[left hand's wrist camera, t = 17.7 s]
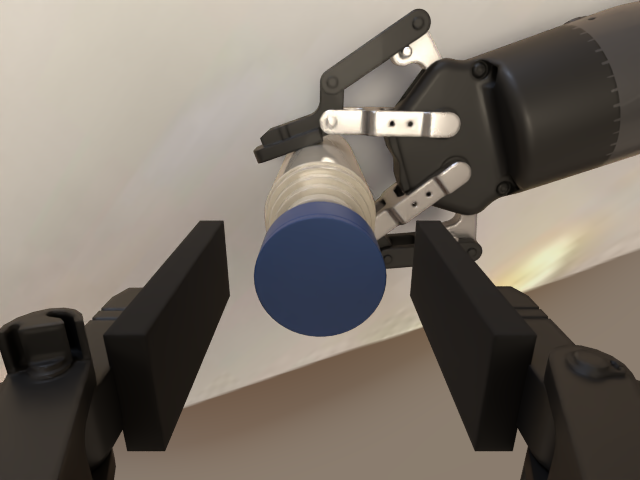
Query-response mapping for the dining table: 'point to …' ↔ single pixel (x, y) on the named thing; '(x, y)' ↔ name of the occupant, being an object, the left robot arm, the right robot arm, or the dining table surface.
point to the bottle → (321, 181)
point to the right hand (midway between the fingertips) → (276, 200)
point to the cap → (320, 270)
